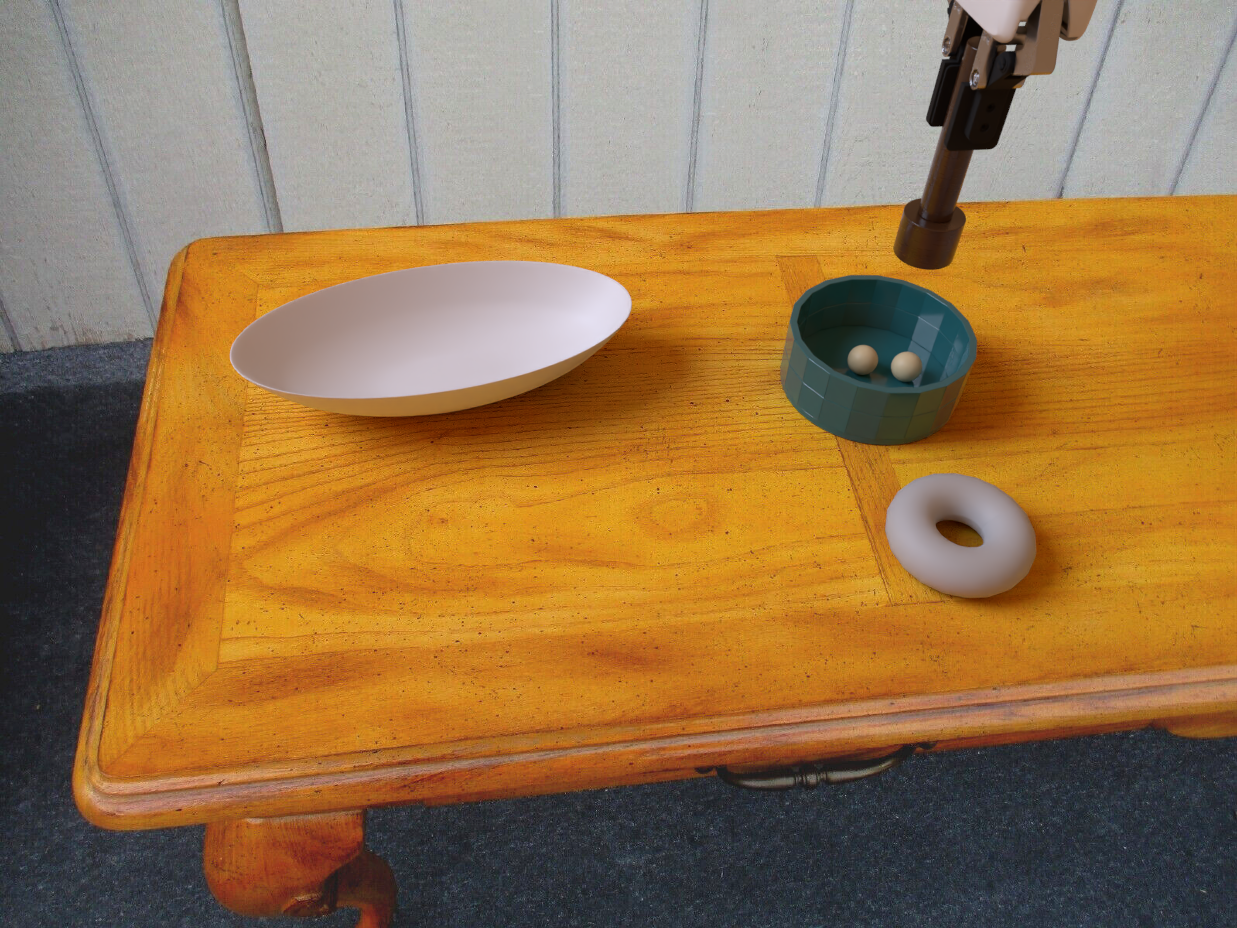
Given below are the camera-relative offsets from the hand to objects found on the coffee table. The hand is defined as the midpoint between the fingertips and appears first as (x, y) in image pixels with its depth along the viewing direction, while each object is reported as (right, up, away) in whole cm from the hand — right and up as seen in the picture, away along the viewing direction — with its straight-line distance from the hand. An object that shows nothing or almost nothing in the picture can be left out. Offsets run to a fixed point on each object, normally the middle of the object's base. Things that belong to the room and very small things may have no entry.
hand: (960, 133), depth 58 cm
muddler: (0, -6, +6) cm, 9 cm away
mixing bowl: (-1, -14, +20) cm, 24 cm away
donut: (+2, -26, +8) cm, 27 cm away
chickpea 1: (-1, -12, +19) cm, 22 cm away
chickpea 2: (+2, -12, +18) cm, 22 cm away
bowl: (-35, -14, +18) cm, 41 cm away
